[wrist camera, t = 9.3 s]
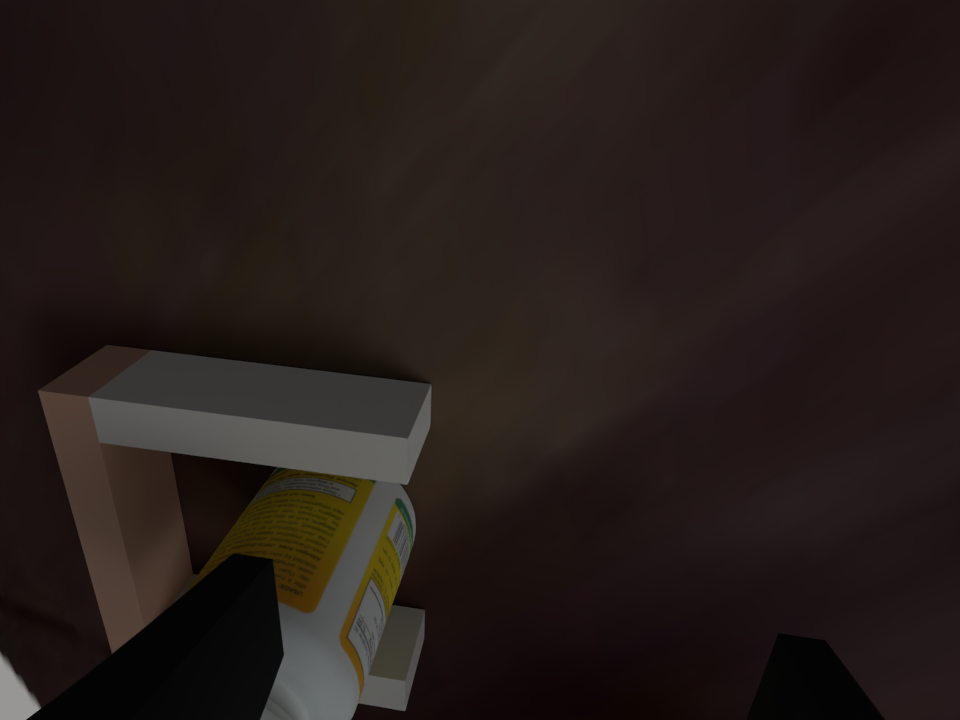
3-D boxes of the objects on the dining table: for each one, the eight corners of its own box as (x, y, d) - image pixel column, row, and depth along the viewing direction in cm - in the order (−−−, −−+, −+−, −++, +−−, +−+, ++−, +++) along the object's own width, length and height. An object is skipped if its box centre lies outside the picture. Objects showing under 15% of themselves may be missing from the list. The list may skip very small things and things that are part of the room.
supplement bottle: (450, 523, 22) (368, 827, 14) (346, 589, 24) (219, 888, 16) (336, 413, 21) (167, 676, 12) (236, 493, 23) (33, 764, 15)
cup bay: (424, 638, 25) (404, 711, 22) (162, 596, 26) (114, 660, 23) (431, 384, 20) (408, 438, 17) (106, 344, 21) (37, 390, 18)
